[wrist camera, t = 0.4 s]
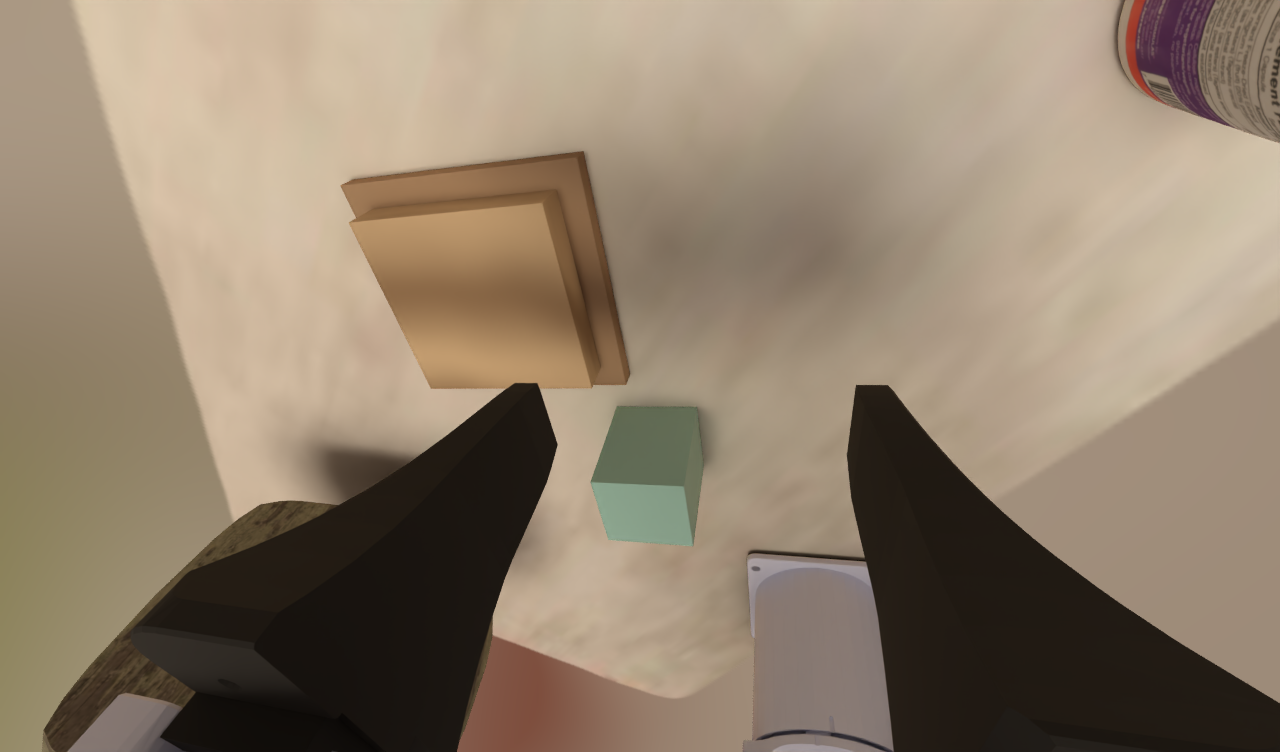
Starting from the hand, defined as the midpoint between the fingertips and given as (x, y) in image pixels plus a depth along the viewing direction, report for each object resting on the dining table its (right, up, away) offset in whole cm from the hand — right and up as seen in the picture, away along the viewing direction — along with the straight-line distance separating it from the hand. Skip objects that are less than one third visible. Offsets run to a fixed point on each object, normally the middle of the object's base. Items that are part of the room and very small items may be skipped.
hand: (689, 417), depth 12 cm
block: (0, -2, +15) cm, 15 cm away
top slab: (-7, +5, +10) cm, 13 cm away
